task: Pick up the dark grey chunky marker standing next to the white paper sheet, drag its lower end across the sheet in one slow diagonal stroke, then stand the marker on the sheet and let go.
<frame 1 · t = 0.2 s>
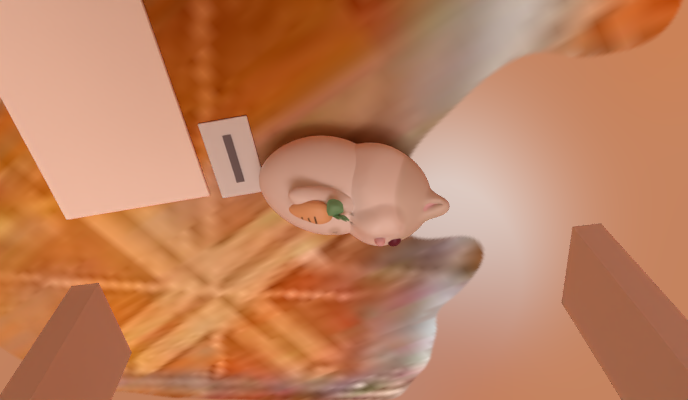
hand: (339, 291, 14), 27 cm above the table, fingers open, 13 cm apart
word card: (234, 157, 42), on the table
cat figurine: (350, 169, 43), on the table
paper: (96, 110, 39), on the table
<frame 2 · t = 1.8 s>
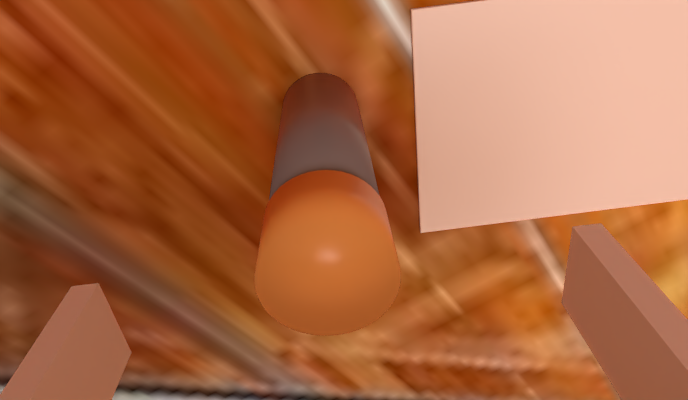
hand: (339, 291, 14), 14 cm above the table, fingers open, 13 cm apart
paper: (579, 112, 27), on the table
marker: (320, 110, 26), on the table
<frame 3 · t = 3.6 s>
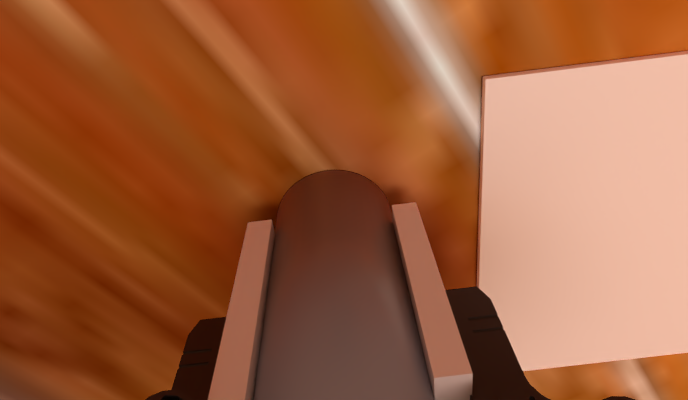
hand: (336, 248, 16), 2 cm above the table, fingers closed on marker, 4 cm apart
marker: (334, 221, 17), on the table, touching gripper
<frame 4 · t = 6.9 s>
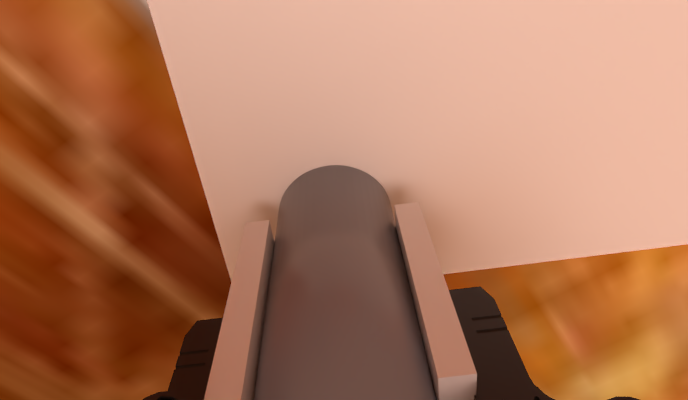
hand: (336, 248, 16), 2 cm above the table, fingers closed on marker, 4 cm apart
paper: (466, 110, 16), on the table
marker: (335, 215, 18), resting on paper, touching gripper
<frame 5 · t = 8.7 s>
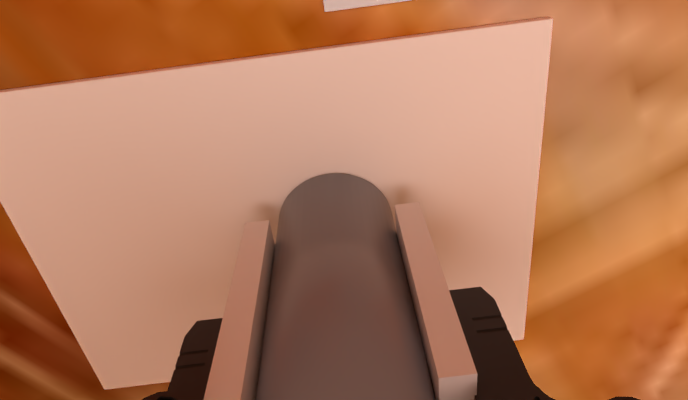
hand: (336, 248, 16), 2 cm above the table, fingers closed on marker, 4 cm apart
paper: (285, 235, 18), on the table
marker: (335, 223, 17), resting on paper, touching gripper
when the fingers open (3 cm above the table, at t = 10.3 s): marker stays where it is, resting on paper.
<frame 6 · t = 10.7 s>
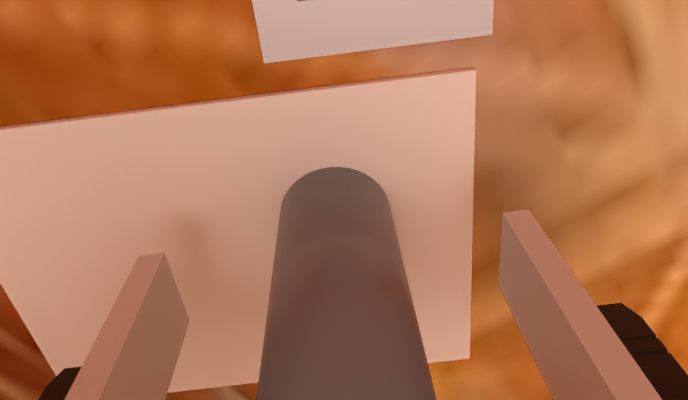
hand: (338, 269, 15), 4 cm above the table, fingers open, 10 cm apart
paper: (238, 262, 19), on the table
marker: (335, 216, 18), resting on paper
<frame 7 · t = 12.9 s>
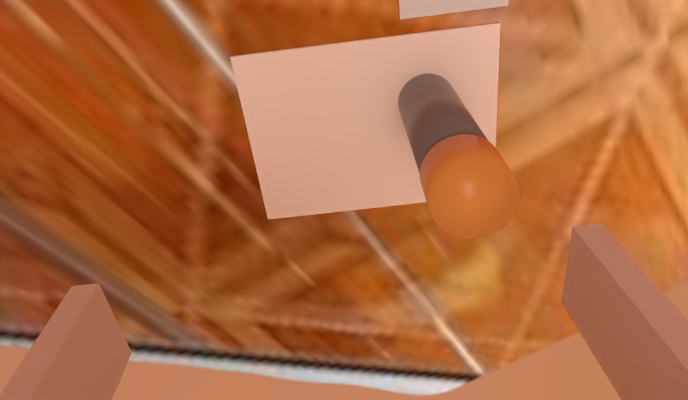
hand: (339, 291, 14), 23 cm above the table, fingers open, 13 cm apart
paper: (372, 129, 36), on the table
marker: (426, 101, 35), resting on paper
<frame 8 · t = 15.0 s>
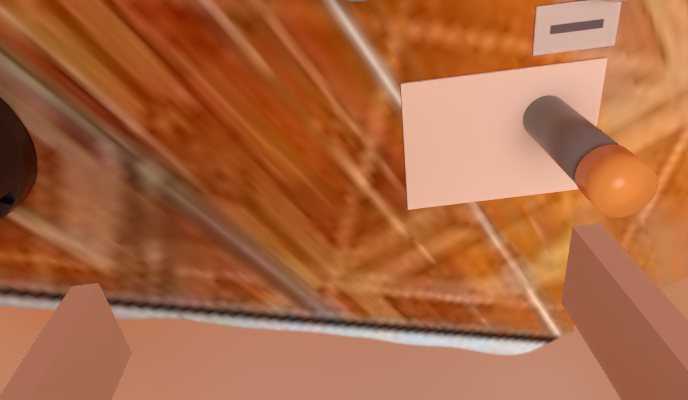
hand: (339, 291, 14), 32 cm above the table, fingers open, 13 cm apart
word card: (575, 26, 42), on the table
paper: (499, 138, 47), on the table
marker: (544, 116, 45), resting on paper
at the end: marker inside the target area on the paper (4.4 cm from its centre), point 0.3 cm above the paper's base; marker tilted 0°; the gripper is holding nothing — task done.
